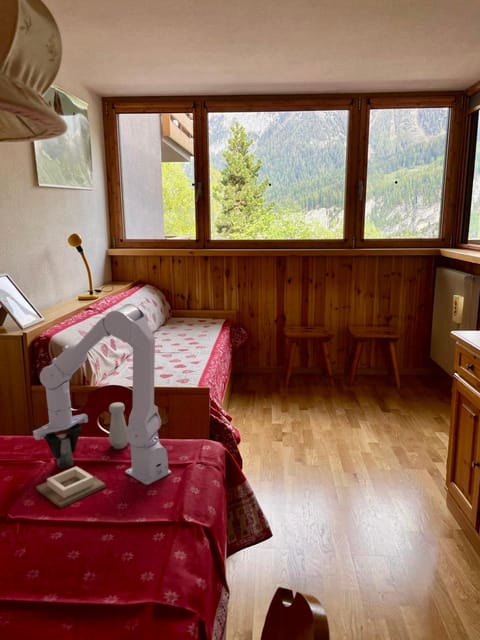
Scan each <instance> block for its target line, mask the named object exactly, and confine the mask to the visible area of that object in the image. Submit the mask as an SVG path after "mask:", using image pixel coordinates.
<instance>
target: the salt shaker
mask: <svg viewBox="0 0 480 640" xmlns="http://www.w3.org/2000/svg"><path fill="white" fill-rule="evenodd" d="M108 410H109V413H110V414H111V415H110V426H109V434H108V441H109V443H110V445H111V447H112V446H113V447H114V448H113V447H112V448H113V449H115V450H120V449H121V450H122V449H124V448H126V447H127V446H128V443H129V442H128V441H127V439H126V437H125V431H126V428H127V427H128V425H127V424H126V420H125V416H124V411H125V410H126V409H125V404H124V403H123V402H119V401H117V402H112V403H111V404H110V405H109V407H108ZM125 446H126V447H125Z"/></svg>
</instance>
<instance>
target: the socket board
mask: <svg viewBox="0 0 480 640" xmlns="http://www.w3.org/2000/svg"><path fill="white" fill-rule="evenodd" d="M103 488H106V483H105V482H103V481H102V480H101V479H98V477H96V476H94V475H92V474H91V473H89V472H87V471H86V470H85V469H83V468H81V467H78V466H76V465H75V466H74V467H71V468H69V469H67V470H64V471H62V472H59V473H58V474H55V475H53V476H50V477H48V478H46V481H45V482H43V483H42V484H39V485H36V490H37V491H38V492H39V493H40V494H42V495H43V496H44V497H46V498H47V499H48V500H50V501H51V502H52V503H53V504H54V505H56V506H58V508H60V509H63V508H64V507H67V506H69V505H71V504H72V503H75V502H77V501H79V500H81V499H82V498H85V497H88V496H89V495H92V494H93V493H96V492H98V491H100V490H103Z"/></svg>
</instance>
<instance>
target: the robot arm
mask: <svg viewBox="0 0 480 640" xmlns="http://www.w3.org/2000/svg"><path fill="white" fill-rule="evenodd" d="M110 336H112V337H115V338H116V339H118V340H121V341H122V342H125V343H126V344H128V345H129V346H130V347H131V348H132V409H131V412H130V414H129V417H128V424H127V428H126V431H125V437H126V439H127V441H128V443H129V445H130V458H131V467H129V468H128V469H126V470H124V472H125V474H127V475H129V476H130V477H132V478H135V480H138V481H140V482H141V483H143V484H144V485H150V484H152V483H154V482H156V481H158V480H160V479H162V478H164V477H165V476H167V475H171V473H172V471H171V470H170V469H169V461H168V459H169V458H168V451H167V449H166V448H165V447H164V446H163V445H162V444H161V442H160V439H159V433H158V430H160V428H161V425H162V419H161V417H160V414H159V407H158V406H157V405H155V362H156V361H155V359H156V358H155V357H156V354H155V353H156V352H155V351H156V346H155V345H156V343H155V342H156V339H155V335H154V334H153V331H152V329H151V327H150V325H149V323H148V321H147V314H146V312H144V310H142V309H141V308H140V307H139V306H138V305H136V304H133V303H127V304H125V305H123V306H122V307H119V308H117V309H115V310H111V311H110V312H108V313H107V314H106V315H105V316H103V317H101V318H100V319H99V320H98V321H97V322H96V323H95V325H93V327H92V328H91V329H90V330H89V331H88V332H87V333H86V334H85V336H83V337H82V339H80V341H79V342H78V343H71V344H67V345H65V346H64V347H63V348H62V352H61V353H60V354H59V355H58V356H57V357H54V358H53V359H52V360H51V364H50V365H48V366H45V367H43V368H42V370H41V371H40V373H39V380H40V383H41V384H42V386H44V387H45V392H46V393H45V394H46V395H45V396H46V405H47V413H48V421H49V422H48V423H47V424H45V425H42V426H41V427H39V428H38V429H35V430H32V434H33V439H35V440H37V441H39V440H41V439H42V438H43V439H44V441H45V442H46V443H47V445H48V448H49V449H50V451H51V453H52V457H53V458H54V459H55V460H57V459H59V457H60V455H59V437H57V436H58V435H57V434H56V433H57V432H60V431H64V430H65V432H66V433H65V434H69V435H70V436H71V446H72V454H74V453H76V448H77V444H78V439H79V438H80V434H81V433H82V429H83V427H82V426H81V424H85V423H88V422H89V418H88V415H87V414H86V413H81V414H77V415H73V413H72V405H71V404H72V402H71V394H70V380H71V378H72V376H73V374H75V373H76V372H77V371H78V369H79V368H80V367H81V366H83V365H84V364H85V363H86V362H87V360H88V358H89V357H88V353H89V352H90V351H91V350H92V349H93V348H94V347H95V346H96V345H97V344H99V343H100V341H102V340H103V339H104V338H105V337H107V338H108V337H110Z"/></svg>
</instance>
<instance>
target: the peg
mask: <svg viewBox="0 0 480 640" xmlns="http://www.w3.org/2000/svg"><path fill="white" fill-rule="evenodd" d="M56 436H57V437H59V455H60V457H59V459H56V464H57V468H59V469H67V468H70V467H71V466H73V465H74V458H73V453H72V446H71V436H70V435H69V434H67V433H63V434H59V435H58V434H57V435H56Z"/></svg>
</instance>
